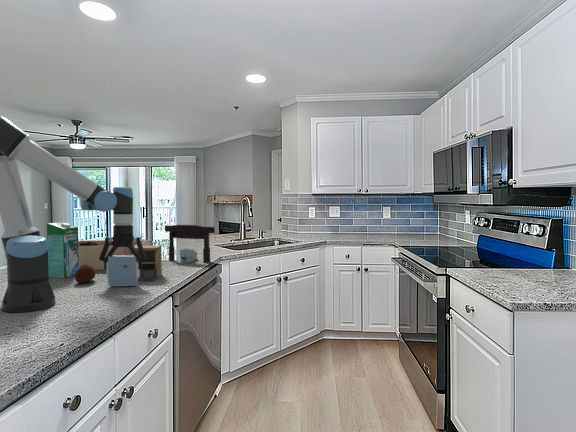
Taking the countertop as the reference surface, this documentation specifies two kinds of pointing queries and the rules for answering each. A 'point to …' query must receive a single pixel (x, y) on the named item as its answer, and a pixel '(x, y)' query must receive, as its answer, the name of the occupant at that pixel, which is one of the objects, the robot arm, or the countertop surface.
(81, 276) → the potato
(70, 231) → the milk carton
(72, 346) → the countertop surface
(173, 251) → the stool
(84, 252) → the planter tray
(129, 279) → the block
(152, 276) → the cabinet
